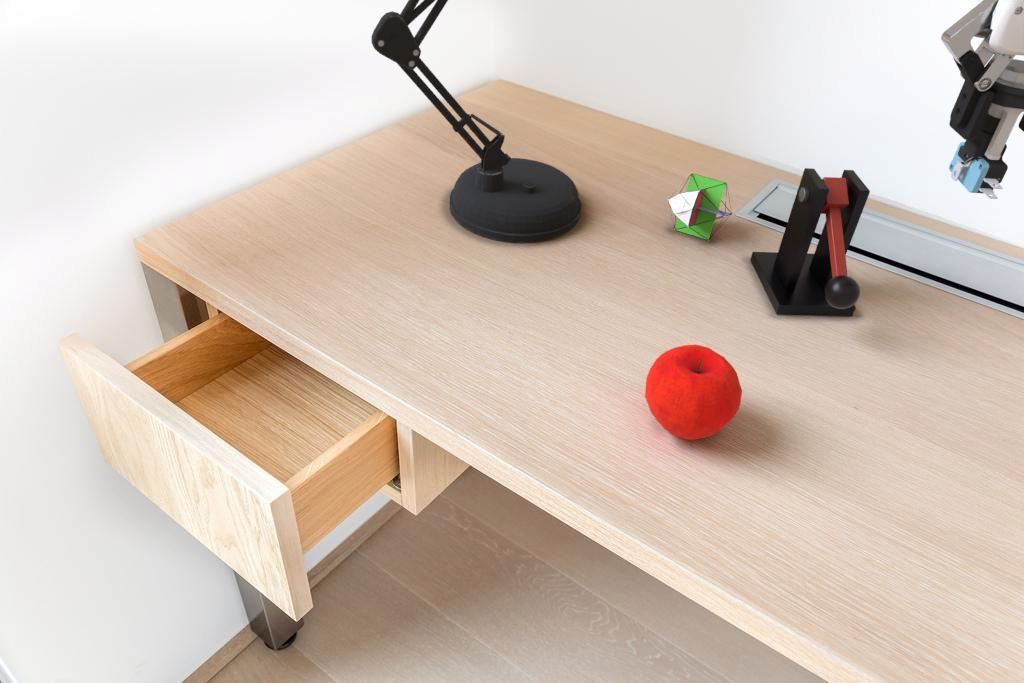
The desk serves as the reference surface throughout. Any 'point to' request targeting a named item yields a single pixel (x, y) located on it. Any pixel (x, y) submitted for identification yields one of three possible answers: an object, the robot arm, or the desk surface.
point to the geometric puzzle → (699, 206)
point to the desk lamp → (484, 154)
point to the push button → (991, 136)
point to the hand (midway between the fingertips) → (997, 132)
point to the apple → (692, 391)
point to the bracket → (792, 269)
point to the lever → (838, 247)
